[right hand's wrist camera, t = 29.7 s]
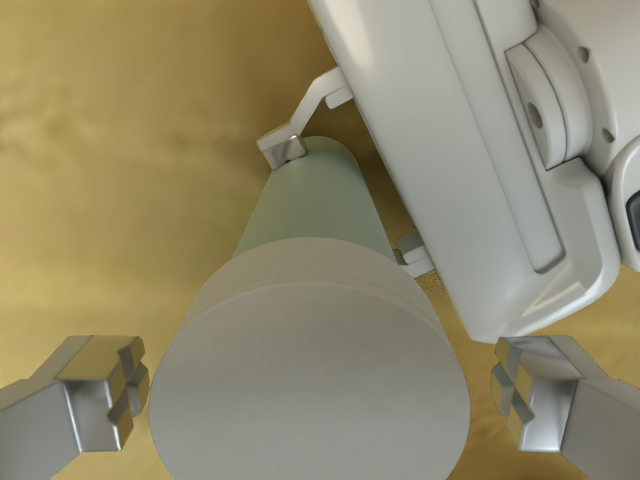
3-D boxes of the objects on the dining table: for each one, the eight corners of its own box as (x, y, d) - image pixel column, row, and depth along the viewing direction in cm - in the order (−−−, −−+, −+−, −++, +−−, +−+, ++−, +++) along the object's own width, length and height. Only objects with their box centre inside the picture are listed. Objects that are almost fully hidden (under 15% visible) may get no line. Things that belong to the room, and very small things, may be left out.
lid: (472, 258, 9) (514, 309, 7) (408, 468, 12) (427, 553, 10) (188, 215, 9) (151, 257, 7) (175, 440, 11) (144, 522, 9)
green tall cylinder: (377, 162, 26) (486, 344, 9) (334, 236, 28) (356, 510, 11) (297, 118, 25) (249, 228, 8) (257, 198, 27) (148, 427, 10)
